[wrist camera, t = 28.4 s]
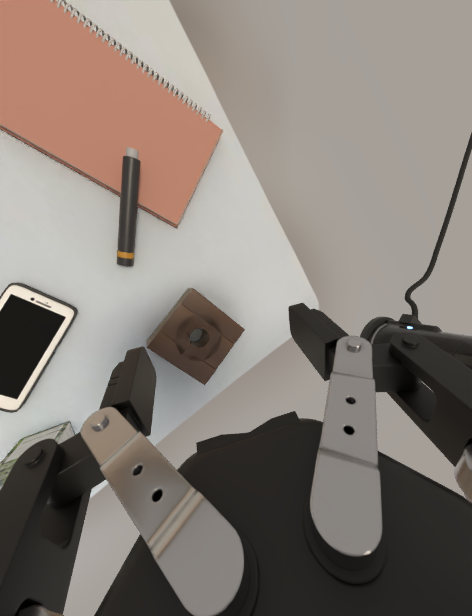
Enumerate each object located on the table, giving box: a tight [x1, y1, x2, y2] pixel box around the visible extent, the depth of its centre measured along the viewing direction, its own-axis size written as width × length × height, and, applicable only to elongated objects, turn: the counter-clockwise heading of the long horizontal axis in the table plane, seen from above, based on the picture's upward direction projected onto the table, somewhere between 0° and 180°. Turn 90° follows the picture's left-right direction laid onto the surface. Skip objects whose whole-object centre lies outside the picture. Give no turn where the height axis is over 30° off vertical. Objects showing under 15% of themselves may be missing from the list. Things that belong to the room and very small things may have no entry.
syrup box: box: [0, 422, 74, 490], centre depth 25 cm, size 6×6×14 cm
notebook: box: [0, 0, 223, 228], centre depth 30 cm, size 27×17×2 cm, turn 65°
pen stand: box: [147, 288, 245, 385], centre depth 36 cm, size 10×10×4 cm
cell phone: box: [0, 283, 77, 413], centre depth 29 cm, size 8×15×1 cm, turn 151°
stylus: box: [117, 147, 141, 266], centre depth 31 cm, size 2×2×14 cm
